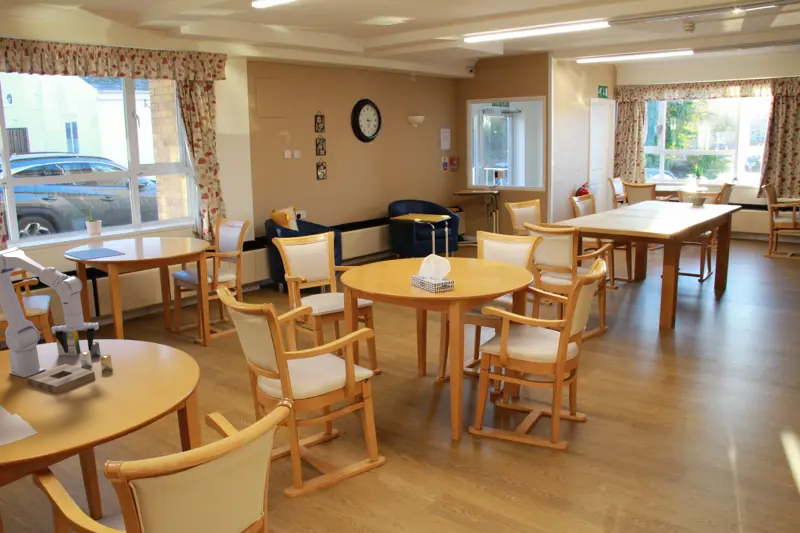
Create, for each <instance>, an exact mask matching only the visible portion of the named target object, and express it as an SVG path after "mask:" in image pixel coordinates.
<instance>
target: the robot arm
mask: <svg viewBox="0 0 800 533" xmlns="http://www.w3.org/2000/svg"><path fill="white" fill-rule="evenodd" d="M18 268H19V269H20V270H21V269H22V270H24V271H25V272H28V273H30V274H32V275H34V276H36V277H38V278H39V282H41V283H43V284H45V285H47V286H48V287H50V288H51V289H54V290H55V291H56V294H57V295H58V296H59V300H60V301H61V305H62V310H63V311H62V312H63V318H64V324H60V325H54V326H52V327H51V329H50V330H51V334H55V333H56V335H54V337H55V340H56V339H57V340H58V341H59V342H60V344H61V345H62V347H63V349H64V352H65V353H67V352H68V351H69V349H68V344H67V332H69V331H77V332H78V331H85V337H86V340H87V347H88V348H87V349H88V351H89V352H90V351H91V350H92V344H93V342H94V337H95V334H96V331H97V330H99V329H100V328H99V327H100V326H99V322H85V321H84V314H83V308H82V301H81V293H80V292H81V291H82V290H83V282H82V280H81V279H80V278H79V277H77V275H71V276H70V275H67V274H65V273H63V272H60V271H59V270H57V269H56V267H53V266H48V267H44V266H43V265H41V264H40V263H38V262H36V261H35V260H33V259H32V258H31V257H28V256H27V255H26V254H25V251H23V250H21V249H20V248H17V247H16V246H15V247H14V246H13V247H9V248H7V249H4V250H3V249H2V250H0V306H1V309H2V312H3V314H4V316H5V319H6V321H7V324H8V325H7V327H6V329H5V331H4V335H5V343H6V346H7V347H8V349H9V354H8V357H9V358H8V359H9V363H10V368H11V369H10V370H11V371H9V374H11V375H15V376H18V377H22V378H29V377H31V376H34V375H37V374H39V373H42V372H45V371H47V370H46V368H45V367H41V365H40V360H39V355H38V350H37V349H38V348H37V347H38V346H39V345H38V342H39V341H40V339H41V335H40V331H39V330H38V329H37V328H36V327H35V325H34V322H33V321H31V320H29V319H26V316H25V314H24V310H23V309H22V306H21V303H20V301H19V297H18V296H17V293H16V290H15V287H14V285H13V283H12V280H11V276H12V273H13V272H14V270H15V269H18Z"/></svg>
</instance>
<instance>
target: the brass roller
mask: <svg viewBox="0 0 800 533" xmlns="http://www.w3.org/2000/svg"><path fill="white" fill-rule="evenodd" d="M111 356H112V355H111V354H104V355H101V356H100V357H99V359H100V367H101V371H102V373H103V372H104V373H107V372H111V371H113V369H114V368H113V364H112V362H113V361H112V357H111Z"/></svg>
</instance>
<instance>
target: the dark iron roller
mask: <svg viewBox="0 0 800 533" xmlns="http://www.w3.org/2000/svg"><path fill="white" fill-rule="evenodd" d="M89 352H90V355H91V359H97V358H100V357H101V356H102V355H101V354H102V353H101V348H100V342H98V341H93V344H92V350H91V351H89Z"/></svg>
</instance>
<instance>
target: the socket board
mask: <svg viewBox="0 0 800 533" xmlns="http://www.w3.org/2000/svg"><path fill="white" fill-rule="evenodd" d="M26 379H27V384H28V386H31V387H34V388H38V389H41V390H43V391H48V392H51V393H55V394H60V393H63V392H65V391H68V390H70V389H72V388H75V387H77V386H79V385H83V384H86V383H87V382H89V381H92V380H94V379H96V374H95V371H94V370H91V369H88V368H82V367H79V366H75V365H71V364H68V363H64V364H61V365H59V366H55V367H54V368H53V367H52V368H51V369H47V370H44V371H41V372H39V373H36V374H33V375H30V376H28V377H26Z"/></svg>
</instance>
